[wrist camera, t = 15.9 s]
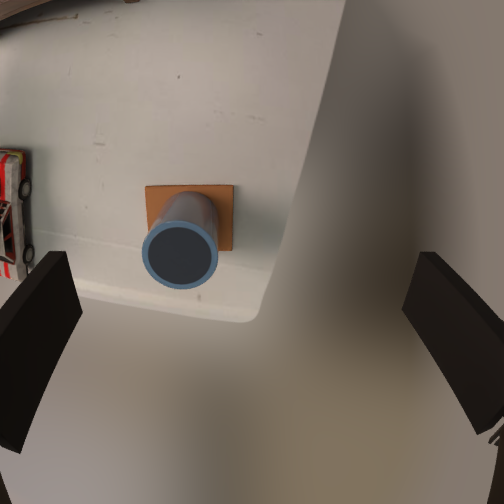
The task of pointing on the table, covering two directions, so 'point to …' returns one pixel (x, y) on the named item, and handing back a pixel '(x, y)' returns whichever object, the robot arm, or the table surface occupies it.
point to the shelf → (24, 6)
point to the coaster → (215, 193)
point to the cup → (183, 241)
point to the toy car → (13, 215)
